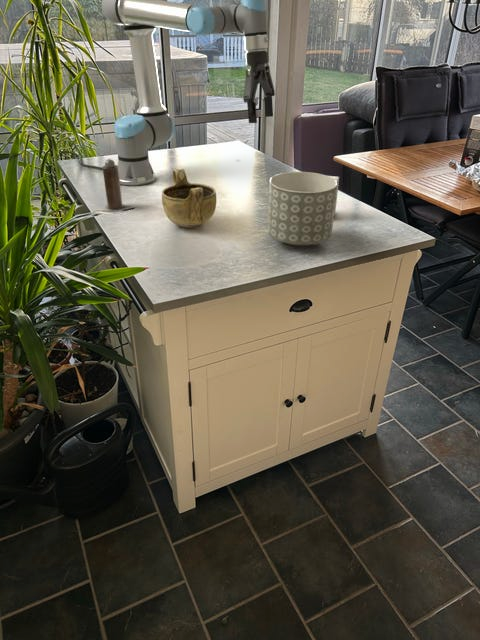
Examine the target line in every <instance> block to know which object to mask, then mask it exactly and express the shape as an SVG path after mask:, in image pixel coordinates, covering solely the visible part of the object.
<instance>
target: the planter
mask: <svg viewBox="0 0 480 640" xmlns="http://www.w3.org/2000/svg"><path fill="white" fill-rule="evenodd" d="M329 176H330V175H326V174H322V173H317V172H310V171H288V172H282V173H279V174H275V175H273V176H272V177H270V179H269V190H268V209H267V211H268V213H267V233H268V235H269V236H270V238H273V239H274V240H276V241H279V242H282V243H283V244H286V245H289V246H292V247H297V248H299V247H300V248H301V247H303V248H304V247H308V246H309V247H311V246H314V245H316V244H320V243H325V242H326V241H328V240H329V239H331V237H332V235H333V225H334V219H335V218H334V217H335V215H334V210H335V201H336V193H337V181H336V180H335V179H333V178H331V177H329ZM337 194H338V193H337Z"/></svg>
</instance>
